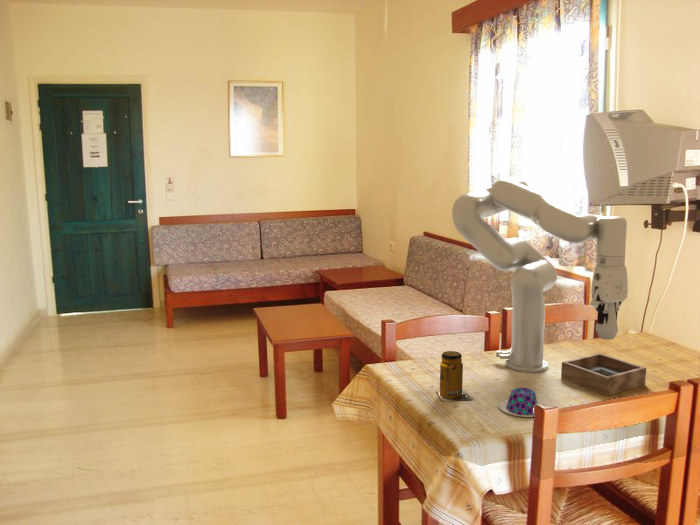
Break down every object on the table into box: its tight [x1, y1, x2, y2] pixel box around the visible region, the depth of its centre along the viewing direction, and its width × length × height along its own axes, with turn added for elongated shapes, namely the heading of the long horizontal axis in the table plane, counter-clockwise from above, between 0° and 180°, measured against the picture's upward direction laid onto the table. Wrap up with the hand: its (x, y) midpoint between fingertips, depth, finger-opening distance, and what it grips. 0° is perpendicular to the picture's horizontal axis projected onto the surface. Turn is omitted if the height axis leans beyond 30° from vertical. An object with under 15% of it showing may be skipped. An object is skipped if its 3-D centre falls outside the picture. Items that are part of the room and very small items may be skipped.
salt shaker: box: [595, 303, 619, 341], centre depth 188 cm, size 6×6×13 cm
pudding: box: [498, 387, 546, 418], centre depth 172 cm, size 12×12×5 cm
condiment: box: [439, 350, 474, 402], centre depth 180 cm, size 7×8×12 cm
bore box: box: [560, 352, 647, 397], centre depth 191 cm, size 16×16×5 cm
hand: (606, 324), depth 188 cm, fingers closed on salt shaker, 3 cm apart
